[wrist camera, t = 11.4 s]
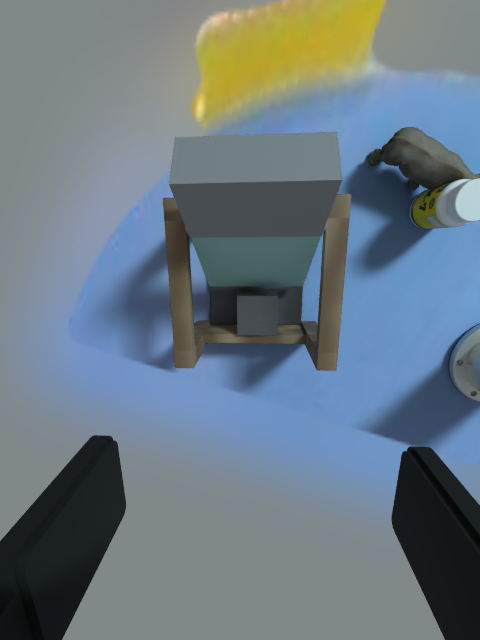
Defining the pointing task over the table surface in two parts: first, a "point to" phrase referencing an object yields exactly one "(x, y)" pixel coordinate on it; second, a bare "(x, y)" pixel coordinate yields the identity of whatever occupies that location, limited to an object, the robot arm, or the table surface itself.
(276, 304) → the block
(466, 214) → the supplement bottle
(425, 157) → the rhino figurine
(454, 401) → the table surface
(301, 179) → the grey and green slab
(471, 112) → the table surface
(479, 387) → the robot arm
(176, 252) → the frame
